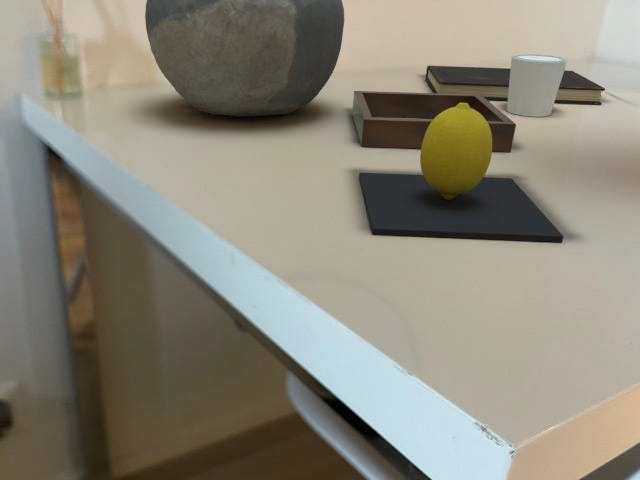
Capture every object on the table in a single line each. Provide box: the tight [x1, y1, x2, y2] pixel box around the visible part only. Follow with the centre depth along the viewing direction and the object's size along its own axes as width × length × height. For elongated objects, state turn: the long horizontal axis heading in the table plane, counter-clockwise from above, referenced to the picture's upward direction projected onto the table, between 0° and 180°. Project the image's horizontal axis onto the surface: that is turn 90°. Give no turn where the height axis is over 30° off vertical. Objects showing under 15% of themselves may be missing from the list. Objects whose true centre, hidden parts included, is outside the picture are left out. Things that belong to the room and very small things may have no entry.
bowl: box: [144, 0, 345, 118], centre depth 83 cm, size 24×24×15 cm
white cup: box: [506, 54, 568, 118], centre depth 88 cm, size 7×7×7 cm
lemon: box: [419, 103, 493, 200], centre depth 54 cm, size 6×6×8 cm
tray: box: [351, 90, 517, 153], centre depth 78 cm, size 16×16×3 cm
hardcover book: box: [425, 65, 606, 106], centre depth 102 cm, size 16×23×2 cm
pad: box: [358, 172, 564, 243], centre depth 55 cm, size 14×14×1 cm
